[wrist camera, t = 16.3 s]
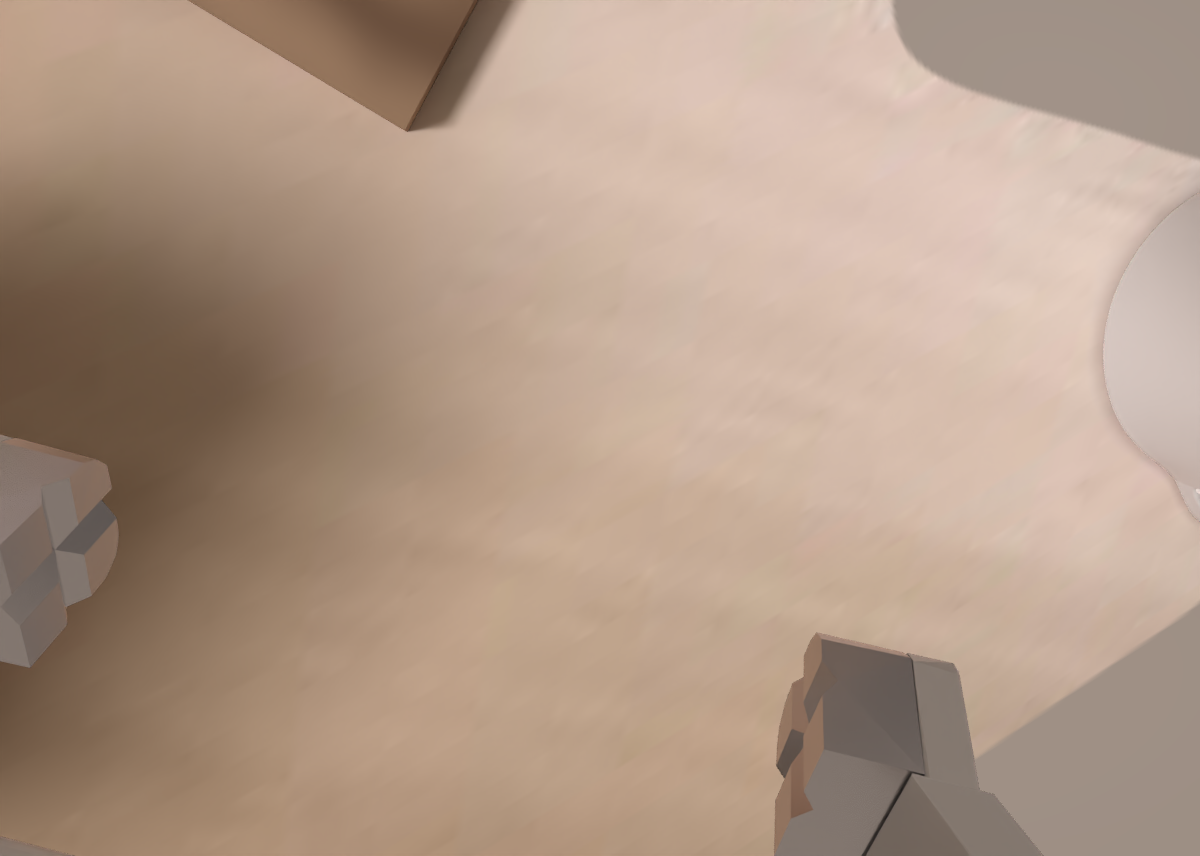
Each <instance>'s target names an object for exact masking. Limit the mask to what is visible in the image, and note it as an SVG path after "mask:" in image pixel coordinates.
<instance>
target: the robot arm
mask: <svg viewBox="0 0 1200 856" xmlns="http://www.w3.org/2000/svg"><path fill="white" fill-rule="evenodd" d="M1103 365H1104V376H1105V382H1106V387H1107V391H1108V395H1109V399H1110V402H1111V405H1112V407H1113V410H1114V412H1115V414H1116V416H1117V418H1118V420H1119V422H1120V424H1121V426H1122V427H1123V429H1124V430H1125V432H1126V433H1127V435H1128V436H1129V437H1130V439H1131V440H1132V441H1133V442H1134V443H1135V445H1136V446H1137V447H1138V448H1139V449H1140V450H1141V451H1142V452H1144V453H1145V454H1146V455H1147V456H1148V457H1150V458H1151V459H1152V460H1153V461H1155V462H1156V463H1157V464H1159V465H1160V466H1161V467H1162V468H1164V469H1165V470H1166V471H1167V472H1168V473H1169V474H1170V475H1171V476H1172V477H1173V478H1174V479H1175V481H1176V483H1177V486H1178V488H1179V490H1180V492H1181V495H1182V497H1183V499H1184V501H1185V503H1186V505H1187V507H1188V509H1189V511H1190V512H1191V514H1192V515H1193V516H1194V518H1195V519H1196V520H1198V521H1199V522H1200V192H1199V193H1197V194H1196V195H1194V196H1192V197H1191V198H1189V199H1188V200H1187V201H1185V202H1184V203H1182V204H1181V205H1180V206H1179V207H1177V208H1176V209H1175V210H1174V211H1173V212H1171V213H1170V214H1169V215H1168V216H1167V217H1166V218H1165V219H1164V220H1163V221H1162V222H1161V223H1160V224H1159V225H1158V226H1157V227H1156V228H1155V229H1154V230H1153V231H1152V232H1151V234H1150V235H1149V236H1148V237H1147V238H1146V240H1145V241H1144V242H1143V244H1142V245H1141V246H1140V248H1139V249H1138V250H1137V252H1136V253H1135V255H1134V257H1133V258H1132V260H1131V261H1130V263H1129V265H1128V267H1127V268H1126V270H1125V272H1124V274H1123V276H1122V278H1121V280H1120V282H1119V285H1118V287H1117V290H1116V292H1115V294H1114V297H1113V300H1112V303H1111V307H1110V310H1109V314H1108V318H1107V323H1106V328H1105V336H1104V347H1103ZM111 489H112V486H111V481H110V476H109V472H108V467H107V465H106V464H104V463H102V462H101V461H99V460H97V459H94V458H90V457H87V456H83V455H79V454H75V453H72V452H68V451H64V450H61V449H57V448H53V447H49V446H46V445H42V444H38V443H34V442H31V441H27V440H23V439H19V438H12V437H8V436H4V435H1V434H0V661H2V662H6V663H11V664H15V665H20V666H24V667H29V668H31V666H32V665H33V664H34V663H35V662H36V661H37V659H38V658H39V657H40V656H41V655H42V654H43V652H44V651H45V650H46V649H47V648H48V647H49V645H50V644H51V643H52V642H53V641H54V639H55V638H56V637H57V636H58V635H59V634H60V632H61V631H62V630H63V629H64V628H65V627H66V625H67V609H66V607H67V606H70V605H72V604H74V603H76V602H79V601H81V600H83V599H86V598H88V597H90V596H92V595H93V594H94V592H95V591H96V590H97V589H98V587H99V586H100V585H101V584H102V582H103V581H104V580H105V579H106V577H107V575H108V573H109V571H110V568H111V566H112V564H113V561H114V559H115V557H116V554H117V548H118V539H119V531H118V524H117V518H116V517H115V515H114V514H113V513H112V512H111V511H110V509H109V508H108V507H107V506H106V505H105V503H104V502H103V501H102V499H103V498H104V496H105V495H106V494H107V493H108V492H109V491H110V490H111ZM776 766H777V768H778V769H779V771H780V772H781V774H782V775H783V777H784V778H785V779H784V782H783V784H782V786H781V789H780V791H779V793H778V796H777V798H776V800H775V839H774V856H1043V855H1042V853H1041V852H1040V851H1039V849H1038V848H1037V847H1036V846H1035V845H1034V843H1033V842H1032V841H1031V840H1030V838H1029V837H1028V836H1027V835H1026V833H1025V832H1024V831H1023V830H1022V828H1021V827H1020V826H1019V825H1018V823H1017V822H1016V821H1015V820H1014V818H1013V817H1012V816H1011V815H1010V813H1009V812H1008V811H1007V810H1006V809H1005V808H1004V806H1003V805H1002V804H1001V802H1000V801H999V800H998V799H997V797H996V796H995V795H994V794H991V793H988V792H985V791H981V790H980V789H979V783H978V777H977V772H976V766H975V760H974V755H973V749H972V743H971V738H970V732H969V726H968V721H967V715H966V709H965V704H964V698H963V692H962V687H961V681H960V675H959V671H958V670H957V668H956V667H955V665H954V664H953V663H949V662H945V661H940V660H936V659H931V658H927V657H923V656H918V655H914V654H909V653H907V654H905V653H903V652H899V651H895V650H891V649H886V648H882V647H878V646H873V645H869V644H865V643H860V642H856V641H852V640H848V639H843V638H839V637H835V636H830V635H826V634H822V633H817V632H816V634H815V635H814V636H813V638H812V639H811V641H810V643H809V645H808V647H807V650H806V652H805V654H804V677H803V678H801V679H799V680H797V681H795V682H794V683H792V686H791V689H790V691H789V694H788V697H787V699H786V702H785V705H784V710H783V714H782V718H781V722H780V726H779V734H778V742H777V760H776ZM0 856H74V855H70V854H66V853H62V852H59V851H55V850H51V849H47V848H43V847H39V846H36V845H32V844H28V843H24V842H20V841H16V840H13V839H9V838H5V837H1V836H0Z"/></svg>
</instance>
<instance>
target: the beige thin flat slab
mask: <svg viewBox="0 0 1200 856" xmlns="http://www.w3.org/2000/svg"><path fill="white" fill-rule="evenodd" d="M188 1H190V2H192V3H193V4H195V5H197V6H198V7H200V8H202V9H203V10H205V11H207V12H208V13H210V14H212V15H213V16H215V17H217V18H218V19H220V20H222V21H223V22H225V23H227V24H228V25H230V26H232V27H233V28H235V29H237V30H238V31H240V32H242V33H243V34H245V35H247V36H248V37H250V38H252V39H253V40H255V41H257V42H258V43H260V44H262V45H263V46H265V47H267V48H268V49H270V50H272V51H273V52H275V53H277V54H278V55H280V56H282V57H283V58H285V59H287V60H288V61H290V62H292V63H293V64H295V65H296V66H298V67H300V68H301V69H303V70H305V71H306V72H308V73H310V74H311V75H313V76H315V77H316V78H318V79H320V80H321V81H323V82H325V83H326V84H328V85H330V86H331V87H333V88H335V89H336V90H338V91H340V92H341V93H343V94H345V95H346V96H348V97H350V98H351V99H353V100H355V101H356V102H358V103H360V104H361V105H363V106H365V107H366V108H368V109H370V110H371V111H373V112H375V113H376V114H378V115H380V116H381V117H383V118H385V119H386V120H388V121H390V122H391V123H393V124H395V125H396V126H398V127H400V128H401V129H403V130H405V131H407V132H408V130H409V128H410V126H411V125H412V123H413V121H414V119H415V117H416V115H417V113H418V111H419V110H420V108H421V106H422V104H423V102H424V100H425V98H426V97H427V95H428V93H429V91H430V89H431V87H432V85H433V83H434V82H435V80H436V78H437V76H438V74H439V72H440V70H441V69H442V67H443V65H444V63H445V61H446V59H447V57H448V56H449V54H450V52H451V50H452V48H453V46H454V44H455V42H456V41H457V39H458V37H459V35H460V33H461V31H462V29H463V28H464V26H465V24H466V22H467V20H468V18H469V16H470V14H471V13H472V11H473V9H474V7H475V5H476V3H477V1H478V0H188Z"/></svg>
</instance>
